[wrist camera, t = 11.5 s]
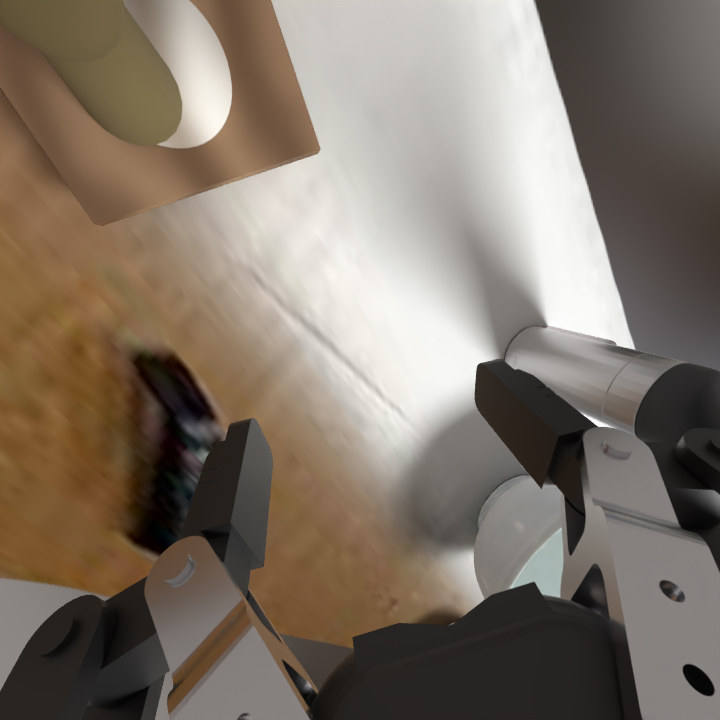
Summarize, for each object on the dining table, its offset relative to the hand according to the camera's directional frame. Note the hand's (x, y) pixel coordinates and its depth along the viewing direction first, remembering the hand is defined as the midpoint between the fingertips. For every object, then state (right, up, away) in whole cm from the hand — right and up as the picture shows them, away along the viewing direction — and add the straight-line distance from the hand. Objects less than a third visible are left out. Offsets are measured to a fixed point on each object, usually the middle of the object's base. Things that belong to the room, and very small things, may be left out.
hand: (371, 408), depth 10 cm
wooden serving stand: (-15, +23, +13) cm, 30 cm away
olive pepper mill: (-16, +20, +9) cm, 27 cm away
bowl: (+29, -28, +48) cm, 62 cm away
